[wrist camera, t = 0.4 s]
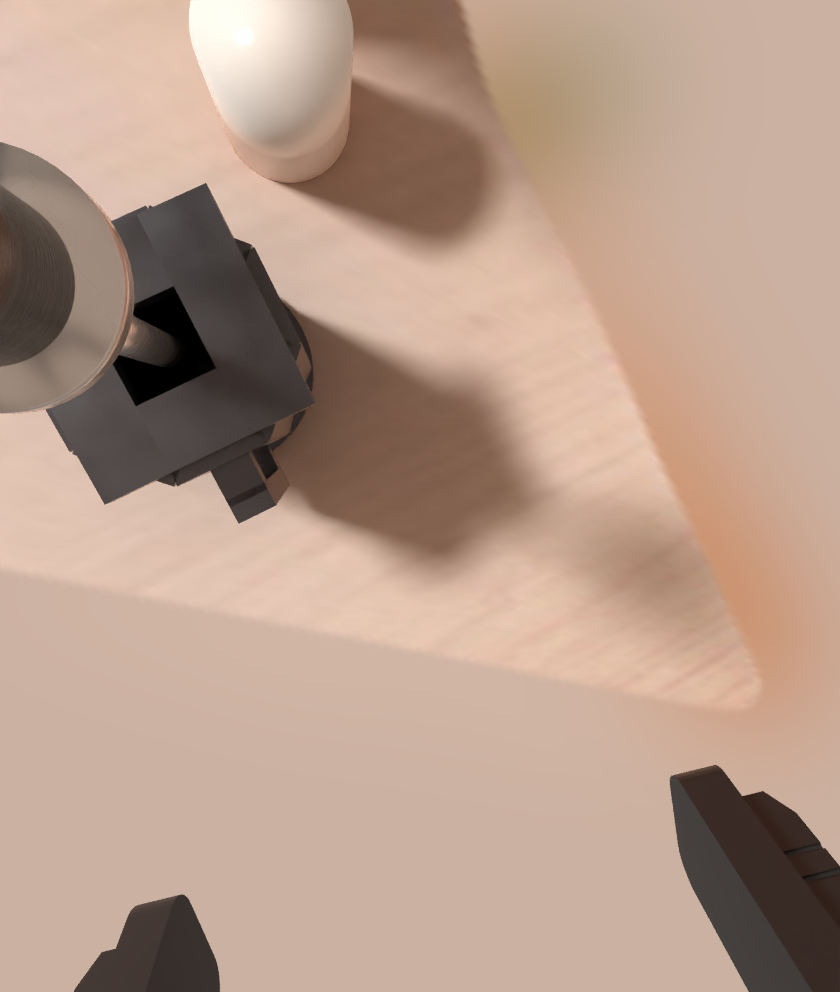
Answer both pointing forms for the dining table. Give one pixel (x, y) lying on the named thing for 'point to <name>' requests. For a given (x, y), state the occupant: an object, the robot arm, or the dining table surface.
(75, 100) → the dining table surface
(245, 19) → the white rounded cylinder
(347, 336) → the dining table surface
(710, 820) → the robot arm
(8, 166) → the plunger
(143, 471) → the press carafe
